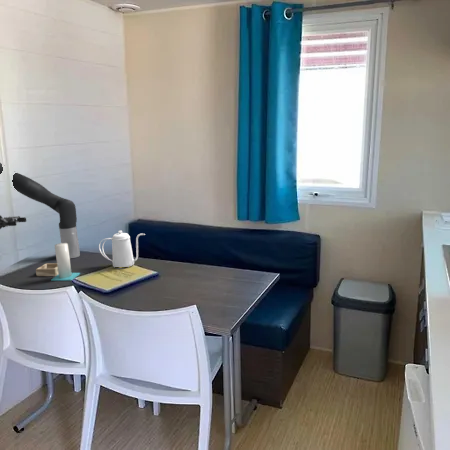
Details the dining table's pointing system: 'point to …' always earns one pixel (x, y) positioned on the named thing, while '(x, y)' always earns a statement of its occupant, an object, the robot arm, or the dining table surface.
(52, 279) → the mat
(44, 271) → the holder
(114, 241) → the coffeepot
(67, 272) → the white cylinder
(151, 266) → the dining table surface
